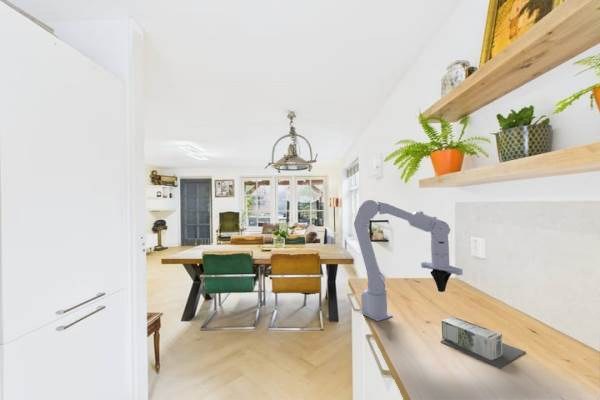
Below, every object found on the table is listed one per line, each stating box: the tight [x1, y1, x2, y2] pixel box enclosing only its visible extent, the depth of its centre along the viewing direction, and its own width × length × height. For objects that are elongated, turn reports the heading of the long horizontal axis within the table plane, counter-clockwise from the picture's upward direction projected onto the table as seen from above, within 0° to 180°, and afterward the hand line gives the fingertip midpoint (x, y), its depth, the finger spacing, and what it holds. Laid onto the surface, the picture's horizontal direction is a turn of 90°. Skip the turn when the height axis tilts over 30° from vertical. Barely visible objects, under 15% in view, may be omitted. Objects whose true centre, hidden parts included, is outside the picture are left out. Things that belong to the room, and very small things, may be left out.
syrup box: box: [441, 316, 503, 360], centre depth 80 cm, size 6×6×14 cm
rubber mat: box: [440, 339, 527, 369], centre depth 80 cm, size 16×14×1 cm
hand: (441, 291), depth 99 cm, fingers closed
